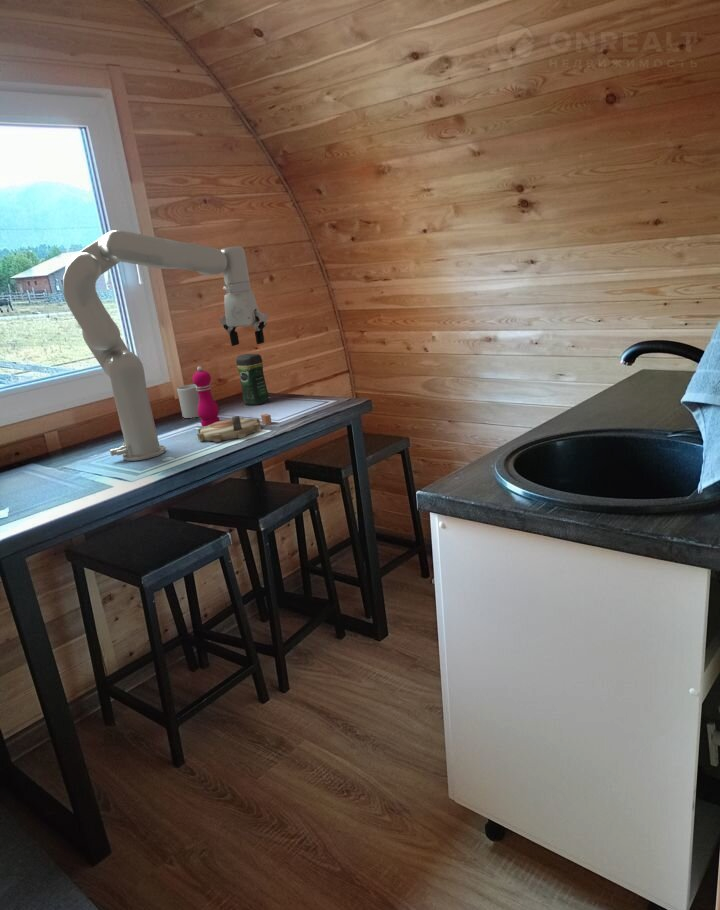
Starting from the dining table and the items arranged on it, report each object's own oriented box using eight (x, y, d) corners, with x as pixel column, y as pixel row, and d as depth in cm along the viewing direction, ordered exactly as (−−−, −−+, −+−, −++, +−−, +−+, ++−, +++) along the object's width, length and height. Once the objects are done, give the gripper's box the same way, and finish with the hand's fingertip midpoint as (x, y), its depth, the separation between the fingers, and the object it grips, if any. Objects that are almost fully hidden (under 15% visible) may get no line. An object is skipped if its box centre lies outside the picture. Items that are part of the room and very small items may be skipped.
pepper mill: (217, 426, 240) (205, 367, 235) (197, 427, 242) (185, 369, 236) (224, 420, 247) (213, 363, 241) (204, 422, 248) (193, 365, 243)
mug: (178, 419, 259) (171, 389, 256) (192, 413, 267) (186, 384, 263) (204, 418, 254) (198, 388, 251) (218, 412, 261) (213, 383, 258)
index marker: (266, 425, 232) (264, 416, 231) (262, 423, 234) (260, 415, 233) (271, 423, 233) (270, 414, 232) (268, 422, 235) (266, 413, 234)
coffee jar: (273, 401, 268) (264, 351, 262) (257, 406, 262) (248, 356, 257) (256, 399, 274) (247, 351, 269) (240, 405, 269) (231, 356, 263)
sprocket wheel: (188, 435, 231) (184, 417, 229) (246, 420, 240) (243, 402, 239) (211, 445, 214) (207, 426, 212) (272, 429, 223) (269, 410, 222)
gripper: (208, 292, 220) (218, 347, 225) (254, 287, 212) (263, 345, 217) (223, 289, 226) (233, 343, 231) (268, 284, 218) (277, 340, 223)
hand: (247, 344), depth 224 cm, fingers open, 9 cm apart
